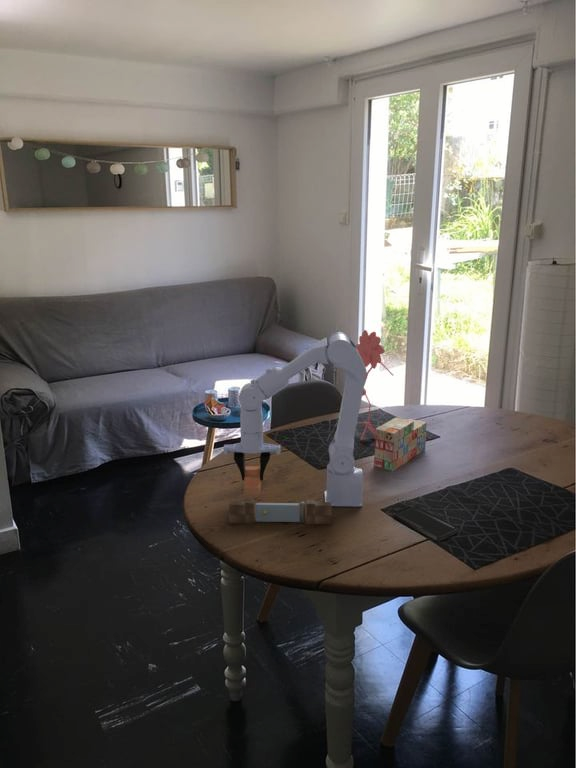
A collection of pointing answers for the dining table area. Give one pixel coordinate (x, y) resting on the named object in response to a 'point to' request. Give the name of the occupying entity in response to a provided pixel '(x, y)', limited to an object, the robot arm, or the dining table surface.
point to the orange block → (252, 480)
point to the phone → (425, 523)
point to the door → (280, 512)
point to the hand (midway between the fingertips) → (252, 478)
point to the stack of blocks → (398, 442)
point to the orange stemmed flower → (370, 361)
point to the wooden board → (245, 512)
